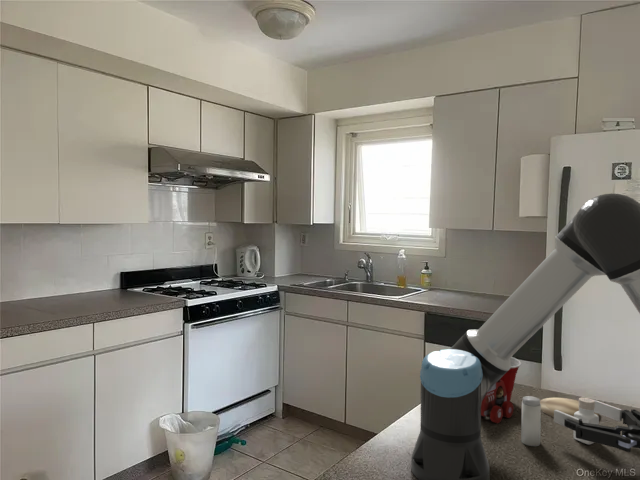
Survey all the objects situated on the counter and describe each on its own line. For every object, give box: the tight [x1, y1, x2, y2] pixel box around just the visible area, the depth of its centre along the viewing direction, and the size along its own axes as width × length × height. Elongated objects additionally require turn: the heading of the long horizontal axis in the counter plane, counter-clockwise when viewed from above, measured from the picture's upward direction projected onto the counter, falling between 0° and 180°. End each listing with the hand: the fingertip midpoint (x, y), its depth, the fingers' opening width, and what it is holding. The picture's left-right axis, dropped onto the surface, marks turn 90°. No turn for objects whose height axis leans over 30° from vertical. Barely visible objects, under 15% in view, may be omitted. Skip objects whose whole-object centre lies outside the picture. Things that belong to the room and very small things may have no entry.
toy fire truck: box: [481, 378, 514, 424], centre depth 123 cm, size 7×12×10 cm, turn 130°
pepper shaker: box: [572, 397, 600, 446], centre depth 109 cm, size 4×4×10 cm
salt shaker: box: [520, 395, 542, 447], centre depth 108 cm, size 4×4×10 cm
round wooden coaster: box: [540, 397, 600, 418], centre depth 126 cm, size 14×14×1 cm
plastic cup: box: [501, 356, 522, 402], centre depth 133 cm, size 11×11×12 cm
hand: (574, 410), depth 112 cm, fingers open, 13 cm apart
